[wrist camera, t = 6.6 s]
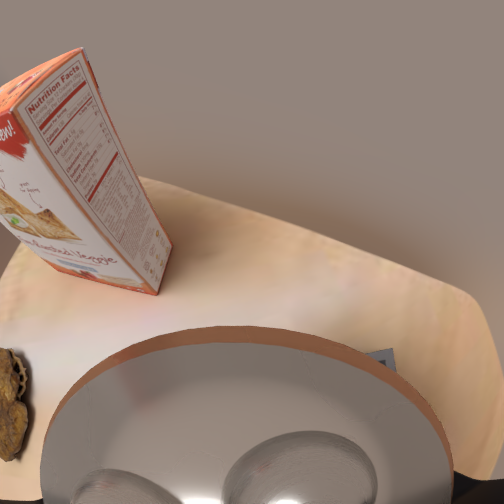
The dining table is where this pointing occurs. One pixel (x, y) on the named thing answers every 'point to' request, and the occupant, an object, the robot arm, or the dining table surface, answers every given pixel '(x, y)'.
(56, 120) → the cracker box
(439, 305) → the dining table surface
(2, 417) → the decorative rock
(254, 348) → the copper cylinder
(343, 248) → the dining table surface
